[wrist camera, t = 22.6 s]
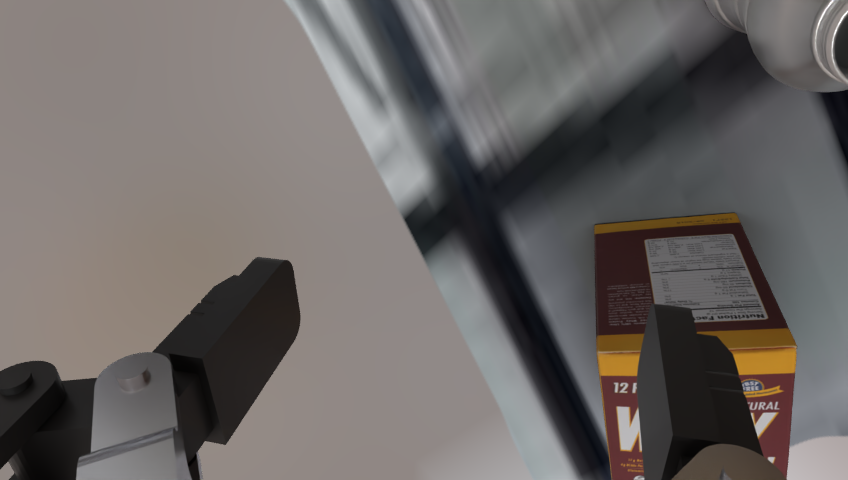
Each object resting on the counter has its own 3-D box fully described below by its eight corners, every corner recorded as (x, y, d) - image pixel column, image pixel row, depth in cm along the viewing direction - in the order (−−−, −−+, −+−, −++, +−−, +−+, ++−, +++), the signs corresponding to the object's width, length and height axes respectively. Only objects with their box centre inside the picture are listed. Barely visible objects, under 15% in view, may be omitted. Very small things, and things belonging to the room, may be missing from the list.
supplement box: (608, 372, 54) (614, 526, 41) (592, 223, 48) (594, 351, 34) (735, 370, 51) (785, 537, 38) (738, 210, 44) (800, 347, 31)
